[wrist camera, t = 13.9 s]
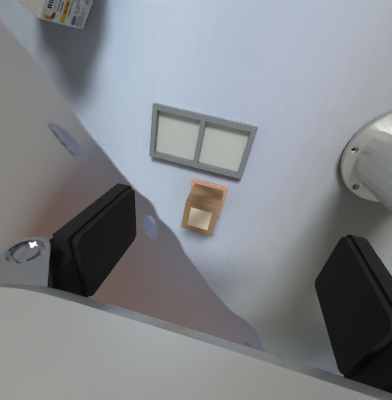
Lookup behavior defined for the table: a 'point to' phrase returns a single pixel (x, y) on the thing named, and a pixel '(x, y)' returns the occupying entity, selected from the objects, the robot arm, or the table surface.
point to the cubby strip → (200, 140)
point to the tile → (211, 187)
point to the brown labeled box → (202, 209)
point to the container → (60, 11)
